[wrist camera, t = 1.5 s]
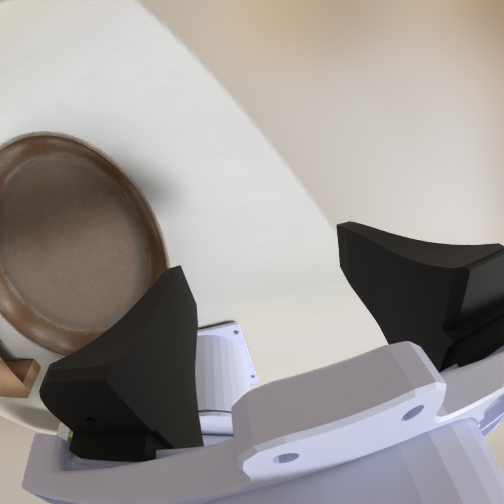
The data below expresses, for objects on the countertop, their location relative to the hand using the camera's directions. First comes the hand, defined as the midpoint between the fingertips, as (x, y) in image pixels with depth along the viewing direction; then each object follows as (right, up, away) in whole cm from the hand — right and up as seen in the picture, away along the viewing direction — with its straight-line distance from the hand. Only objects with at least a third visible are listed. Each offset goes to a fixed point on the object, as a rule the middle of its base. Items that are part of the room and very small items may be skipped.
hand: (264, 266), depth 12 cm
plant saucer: (-17, +1, +9) cm, 19 cm away
